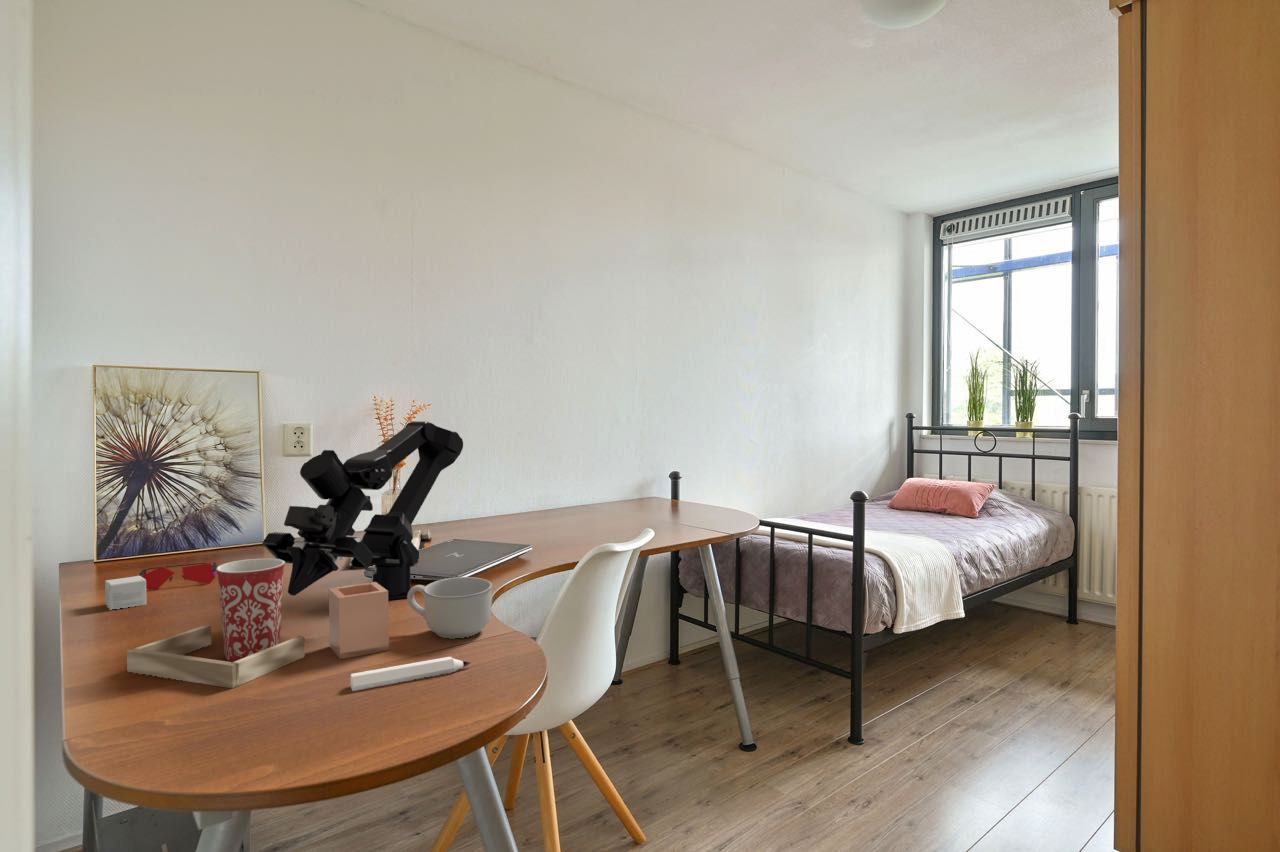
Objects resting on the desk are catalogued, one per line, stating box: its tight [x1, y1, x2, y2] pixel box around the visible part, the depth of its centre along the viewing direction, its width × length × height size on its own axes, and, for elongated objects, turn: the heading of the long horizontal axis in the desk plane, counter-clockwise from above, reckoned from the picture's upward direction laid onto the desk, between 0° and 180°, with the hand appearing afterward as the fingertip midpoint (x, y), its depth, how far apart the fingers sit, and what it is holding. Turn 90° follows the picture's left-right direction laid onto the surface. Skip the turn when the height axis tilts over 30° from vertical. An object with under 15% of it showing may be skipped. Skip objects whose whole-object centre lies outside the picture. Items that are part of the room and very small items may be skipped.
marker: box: [350, 656, 472, 692], centre depth 99 cm, size 3×2×16 cm
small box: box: [104, 575, 147, 611], centre depth 136 cm, size 6×6×5 cm
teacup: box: [406, 576, 493, 640], centre depth 118 cm, size 14×11×8 cm
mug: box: [215, 557, 286, 662], centre depth 110 cm, size 13×9×14 cm
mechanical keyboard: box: [345, 529, 432, 571], centre depth 184 cm, size 38×19×3 cm, turn 15°
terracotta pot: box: [328, 581, 390, 660], centre depth 111 cm, size 7×7×9 cm
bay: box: [126, 624, 306, 689], centre depth 104 cm, size 12×19×3 cm, turn 72°
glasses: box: [138, 561, 218, 591], centre depth 155 cm, size 14×16×5 cm
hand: (291, 594), depth 117 cm, fingers closed
